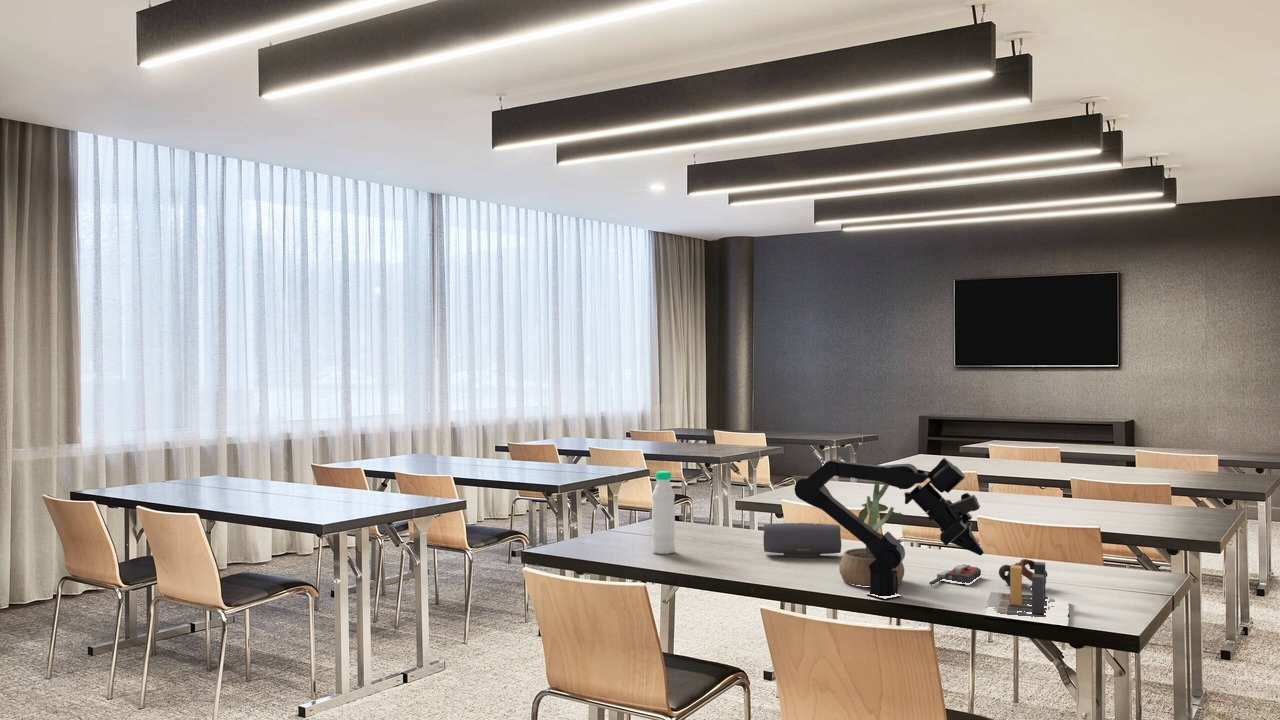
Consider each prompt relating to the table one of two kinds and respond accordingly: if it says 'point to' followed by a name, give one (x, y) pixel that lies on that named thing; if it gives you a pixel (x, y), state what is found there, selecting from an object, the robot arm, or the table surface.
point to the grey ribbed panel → (1024, 597)
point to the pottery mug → (1024, 570)
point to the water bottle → (663, 515)
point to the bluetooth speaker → (802, 539)
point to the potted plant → (858, 560)
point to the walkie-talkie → (959, 574)
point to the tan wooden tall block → (1016, 585)
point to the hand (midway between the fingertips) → (982, 554)
